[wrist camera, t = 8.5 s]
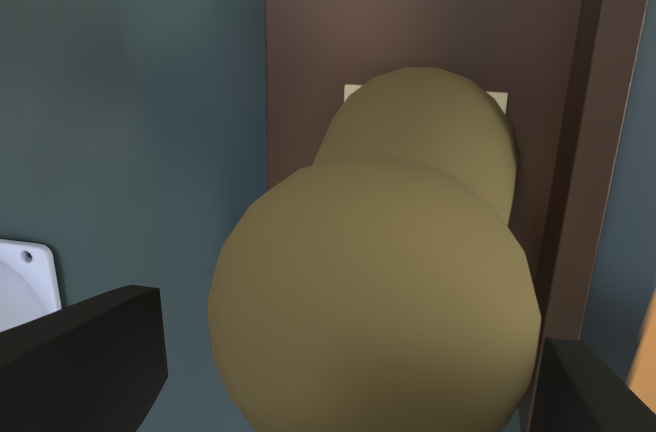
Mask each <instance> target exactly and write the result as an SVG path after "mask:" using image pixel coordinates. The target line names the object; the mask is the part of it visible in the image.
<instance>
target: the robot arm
mask: <svg viewBox="0 0 656 432" xmlns="http://www.w3.org/2000/svg"><path fill="white" fill-rule="evenodd" d="M28 252H29V253H30V254H31V256H32V258H31V257H30V256H29V254H28ZM167 378H168V369H167V359H166V349H165V340H164V330H163V320H162V310H161V300H160V290H159V288H152V287H144V286H136V285H129V286H125V287H121V288H118V289H114V290H111V291H108V292H106V293H103V294H100V295H97V296H94V297H92V298H89V299H86V300H84V301H81V302H79V303H76V304H73V305H71V306H68V307H66V308H63V309H62V308H61V302H60V296H59V290H58V283H57V277H56V271H55V265H54V259H53V255H52V252H51V250H50V249H49V248H48V247H47V246H45V245H43V244H38V243H29V242H21V241H13V240H5V239H0V432H136V430H137V429H138V428H139V426H140V425H141V424H142V422H143V421H144V419H145V417H146V416H147V414H148V412H149V411H150V409H151V407H152V405H153V404H154V402H155V400H156V398H157V396H158V395H159V393H160V391H161V389H162V387H163V385H164V383H165V381H166V379H167ZM529 432H656V414H655V413H654V412H652V411H651V410H650V409H649V408H648V407H647V406H646V405H645V404H644V403H643V402H642V401H641V400H640V399H639V398H638V397H637V396H636V395H635V394H634V393H633V392H632V391H631V390H630V389H629V388H628V387H627V386H626V385H625V384H624V383H623V381H622V380H621V379H620V378H619V377H618V376H617V375H616V374H615V373H614V372H613V371H612V370H611V369H610V368H609V367H608V366H607V365H606V364H605V363H604V362H603V361H602V360H601V359H600V358H599V357H598V356H597V355H596V354H595V352H594V351H593V350H592V349H591V348H590V347H589V346H587V345H586V344H585V343H584V342H583V341H575V340H567V339H559V338H551V337H545V341H544V346H543V352H542V358H541V364H540V370H539V376H538V382H537V388H536V393H535V399H534V405H533V411H532V417H531V423H530V429H529Z"/></svg>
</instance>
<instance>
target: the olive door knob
mask: <svg viewBox="0 0 656 432" xmlns="http://www.w3.org/2000/svg"><path fill="white" fill-rule="evenodd" d="M518 162H519V153H518V149H517V145H516V140H515V136H514V132H513V128H512V125H511V123H510V122H509V120H508V118H507V117H506V115H505V114H504V112H503V111H502V109H501V108H500V106H499V105H498V103H497V102H496V100H495V98H493V97H492V96H491V95H490V94H488V93H487V92H486V91H484V90H483V89H482V88H481V87H479V86H478V85H477V84H475V83H474V82H473V81H471V80H470V79H469V78H466V77H464V76H461V75H458V74H455V73H452V72H449V71H446V70H443V69H440V68H433V67H404V68H401V69H398V70H395V71H392V72H388V73H385V74H382V75H379V76H376V77H374V78H372V79H371V80H370V81H368V82H367V83H365V84H364V85H363V86H361V87H360V88H359V89H357V90H356V91H354V92H353V93H352V94H350V95H349V96H348V98H347V99H346V101H345V102H344V103H343V105H342V106H341V108H340V109H339V110H338V112H337V113H336V115H335V116H334V117H333V119H332V120H331V123H330V125H329V127H328V130H327V132H326V134H325V137H324V139H323V141H322V143H321V146H320V148H319V150H318V153H317V155H316V157H315V160H314V162H313V164H312V165H311V166H308V167H304V168H301V169H299V170H298V171H296V172H295V173H293V174H292V175H290V176H289V177H288V178H286V179H285V180H283V181H282V182H280V183H279V184H278V185H276V186H275V187H273V188H272V189H270V190H269V191H267V192H266V193H265V194H263V195H262V196H261V197H260V198H258V199H257V200H256V201H255V202H254V203H253V204H251V205H250V206H249V208H248V209H247V210H246V212H245V213H244V215H243V216H242V218H241V219H240V221H239V222H238V223H237V225H236V226H235V228H234V229H233V231H232V232H231V233H230V235H229V236H228V238H227V239H226V241H225V242H224V244H223V246H222V249H221V252H220V255H219V257H218V260H217V263H216V267H215V271H214V275H213V279H212V283H211V287H210V291H209V295H208V299H207V313H208V323H209V333H210V343H211V349H212V353H213V358H214V362H215V364H216V367H217V369H218V371H219V374H220V376H221V378H222V381H223V383H224V385H225V387H226V390H227V392H228V394H229V397H230V399H231V401H232V402H233V403H234V404H235V405H236V407H237V408H238V409H239V410H240V412H241V413H242V414H243V415H244V416H245V418H246V419H247V420H248V421H249V423H250V424H251V425H252V426H253V428H254V429H255V430H256V431H257V432H499V431H500V430H501V429H502V428H504V427H505V426H506V425H507V424H508V422H509V421H510V419H511V417H512V415H513V414H514V412H515V410H516V408H517V406H518V405H519V403H520V401H521V399H522V398H523V396H524V394H525V392H526V391H527V389H528V387H529V385H530V382H531V378H532V375H533V371H534V367H535V362H536V354H537V347H538V339H539V331H540V324H541V315H540V311H539V307H538V303H537V299H536V295H535V291H534V287H533V283H532V279H531V275H530V271H529V267H528V263H527V259H526V255H525V252H524V250H523V249H522V247H521V246H520V244H519V243H518V241H517V240H516V238H515V237H514V236H513V234H512V233H511V231H510V230H509V228H508V227H507V226H508V221H509V217H510V212H511V207H512V202H513V198H514V193H515V188H516V181H517V171H518Z"/></svg>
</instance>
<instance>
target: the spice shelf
mask: <svg viewBox="0 0 656 432" xmlns="http://www.w3.org/2000/svg"><path fill="white" fill-rule="evenodd" d="M647 5H648V0H265V39H266V92H267V146H268V191H269V190H270V189H272V188H273V187H275V186H276V185H278V184H279V183H280V182H282V181H283V180H285V179H286V178H288V177H289V176H290V175H292V174H293V173H295V172H296V171H298V170H299V169H301V168H304V167H308V166H311V165H312V164H313V162H314V160H315V157H316V155H317V153H318V150H319V148H320V146H321V143H322V141H323V139H324V137H325V134H326V132H327V130H328V127H329V125H330V123H331V120H332V119H333V117H334V116H335V115H336V113H337V112H338V110H339V109H340V108H341V106H342V105H343V103H344V102H345V101H346V99H347V98H348V96H349V95H350V94H352V93H353V92H354V91H356V90H357V89H359V88H360V87H361V86H363V85H364V84H365V83H367V82H368V81H370V80H371V79H372V78H374V77H376V76H379V75H382V74H385V73H388V72H392V71H395V70H398V69H401V68H404V67H433V68H440V69H443V70H446V71H449V72H452V73H455V74H458V75H461V76H464V77H466V78H469V79H470V80H471V81H473V82H474V83H475V84H477V85H478V86H479V87H481V88H482V89H483V90H484V91H486V92H487V93H488V94H490V95H491V96H492V97H493V98H495V100H496V102H497V103H498V105H499V106H500V108H501V109H502V111H503V112H504V114H505V115H506V117H507V118H508V120H509V122H510V123H511V125H512V128H513V132H514V136H515V140H516V145H517V149H518V153H519V162H518V171H517V181H516V188H515V193H514V198H513V202H512V207H511V212H510V217H509V221H508V226H507V227H508V228H509V230H510V231H511V233H512V234H513V236H514V237H515V238H516V240H517V241H518V243H519V244H520V246H521V247H522V249H523V250H524V252H525V255H526V259H527V263H528V267H529V271H530V275H531V279H532V283H533V287H534V291H535V295H536V299H537V303H538V307H539V311H540V315H541V324H540V331H539V339H538V347H537V354H536V362H535V367H534V371H533V375H532V378H531V382H530V385H529V387H528V389H527V391H526V392H525V394H524V396H523V398H522V399H521V401H520V403H519V405H518V409H519V417H520V426H521V432H529V429H530V423H531V417H532V411H533V405H534V399H535V393H536V388H537V382H538V376H539V370H540V364H541V358H542V352H543V346H544V341H545V337H551V338H559V339H567V340H575V341H579V339H580V334H581V329H582V324H583V320H584V315H585V310H586V305H587V300H588V295H589V290H590V285H591V280H592V275H593V270H594V266H595V261H596V256H597V251H598V246H599V241H600V236H601V231H602V226H603V221H604V216H605V212H606V207H607V202H608V197H609V192H610V187H611V182H612V177H613V172H614V167H615V162H616V158H617V153H618V148H619V143H620V138H621V133H622V128H623V123H624V118H625V113H626V108H627V104H628V99H629V94H630V89H631V84H632V79H633V74H634V69H635V64H636V59H637V54H638V50H639V45H640V40H641V35H642V30H643V25H644V20H645V15H646V10H647Z"/></svg>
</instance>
